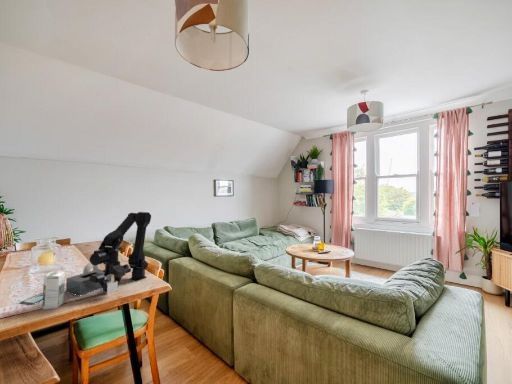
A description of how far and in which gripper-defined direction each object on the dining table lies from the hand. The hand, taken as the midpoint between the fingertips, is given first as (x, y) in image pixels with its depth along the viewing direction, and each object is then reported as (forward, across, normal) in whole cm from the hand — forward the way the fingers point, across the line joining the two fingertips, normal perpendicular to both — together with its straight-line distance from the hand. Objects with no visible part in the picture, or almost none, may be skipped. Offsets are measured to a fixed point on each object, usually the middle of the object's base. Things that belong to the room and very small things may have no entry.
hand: (110, 290), depth 122 cm
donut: (+1, +7, +27) cm, 28 cm away
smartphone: (+2, -18, +23) cm, 29 cm away
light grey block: (+1, 0, 0) cm, 1 cm away
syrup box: (+1, -21, +8) cm, 23 cm away
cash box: (+1, -2, +14) cm, 14 cm away
